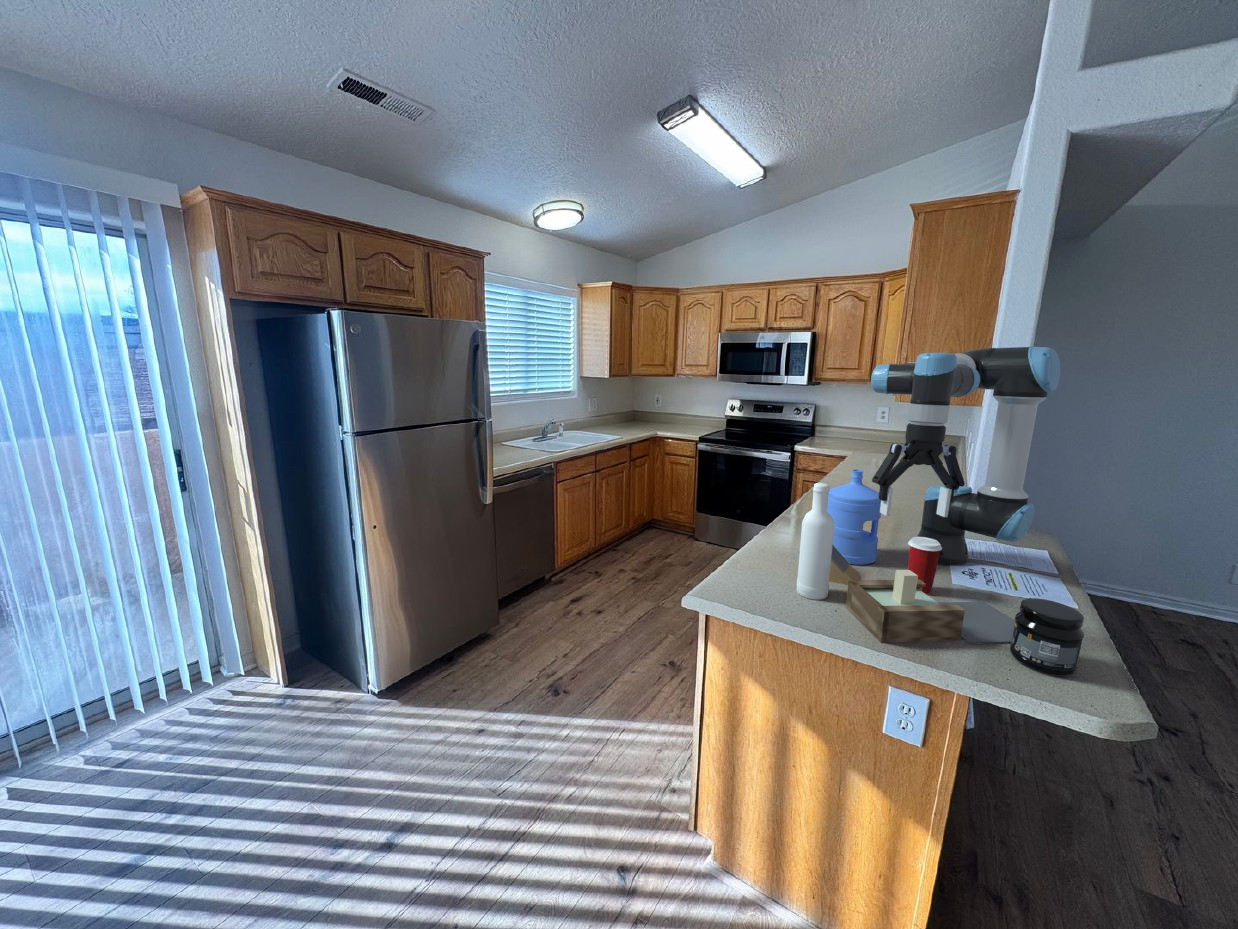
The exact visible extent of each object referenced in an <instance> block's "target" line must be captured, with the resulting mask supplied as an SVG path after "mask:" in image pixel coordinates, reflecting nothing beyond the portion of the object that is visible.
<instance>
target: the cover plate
mask: <svg viewBox="0 0 1238 929" xmlns="http://www.w3.org/2000/svg"><path fill="white" fill-rule="evenodd" d="M917 579H918V575H916V574H915V573H913V572H912V571H910V570H908V569H895V574H894V580H895V581H894V588H872V589H864V590H865V591H866V592H867V593H869V594H870V595H871V596H872V597H873V598H875V599H876V600H877V601H878V602H879V603H881V604H882V605H883V606H905V605H940V604H939V603H937V602H938V601H936V600H935V599H933V598H932V597H931V596H929V595H928V594H925V593H923V592H922V591H920V590H919V589H917V588H916V587H917Z"/></svg>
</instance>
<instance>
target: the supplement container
mask: <svg viewBox="0 0 1238 929" xmlns="http://www.w3.org/2000/svg"><path fill="white" fill-rule="evenodd" d="M1084 619H1085V618H1084V615H1083V614H1082V613H1081V612H1080V611H1078V610H1077V609H1075V608H1073V607H1072V606H1069V605H1067V604H1064V603H1061V602H1058V601H1054V600H1049V599H1044V598H1043V599H1042V598H1037V597H1036V598H1035V597H1034V598H1033V597H1031V598H1025V599H1022V600H1021V602H1020V607H1019V611H1018V612H1017V613H1016V614H1015V615H1014V620H1015V625H1014V631H1013V636H1012V641H1011V643H1010V646H1009V651H1010V654H1011V656H1012V657H1013V659H1015V660H1016V661H1018V663H1021V664H1022V665H1024V666H1026V667H1027V668H1030V669H1032V670H1034V671H1037V672H1039V673H1042V674H1046V675H1052V676H1061V677H1062V676H1063V677H1064V676H1070V675H1072V674H1074V673H1075V672H1076V671H1077V669H1078V668H1077V667H1078V661H1079V656H1080V653H1081V647H1082V642H1083V640H1084V638H1085V632H1084V630H1083V628H1082V627H1083V625H1084Z"/></svg>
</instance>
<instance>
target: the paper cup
mask: <svg viewBox="0 0 1238 929" xmlns="http://www.w3.org/2000/svg"><path fill="white" fill-rule="evenodd" d="M907 545H908V546H909V547H908V561H907V562H908V563H907V570H910V571H912V572H913V573H915V574H916V575H918V579H917V580H921V581H922V582H924V583H925V584H926V586H925V587H920V590H921V591H922V592H924V593H925V594H926V595H930V594H931V593H932V590H933V586H934V580H935V577H936V576H935V575H936V573H937V569H938V565H939V563H938V559H939V554H940V550H942V547H941V544H940V543H939V542H938V541H937V540H934V539H931V538H926V537H917V536H913V537H911V539H909V541H908V542H907Z"/></svg>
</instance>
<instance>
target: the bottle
mask: <svg viewBox="0 0 1238 929" xmlns="http://www.w3.org/2000/svg"><path fill="white" fill-rule="evenodd" d="M812 491H813V495H812V504H811V505H812V506H811V510H809V511H808V512H806V513H805V516H804V517H803V519H802V522H801V531H800V532H801V533H800V543H799V557H798V570H797V579H796V592H797V594H798V595H799V596H801V597H803V598H804V599H805V598H806V599H808V600H809V599H810V600H814V601H819V600H825V599H826V598H828V595H829V591H830V590H829V589H830V582H829V576H830V566H831V556H832V545H833V535H834V521H833V518H832V516H831V515H830V514H829V513H828V512H827V505H828V495H829V491H830V485H829V484H828V483H825V482H816V483H814V484H813V489H812Z"/></svg>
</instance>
